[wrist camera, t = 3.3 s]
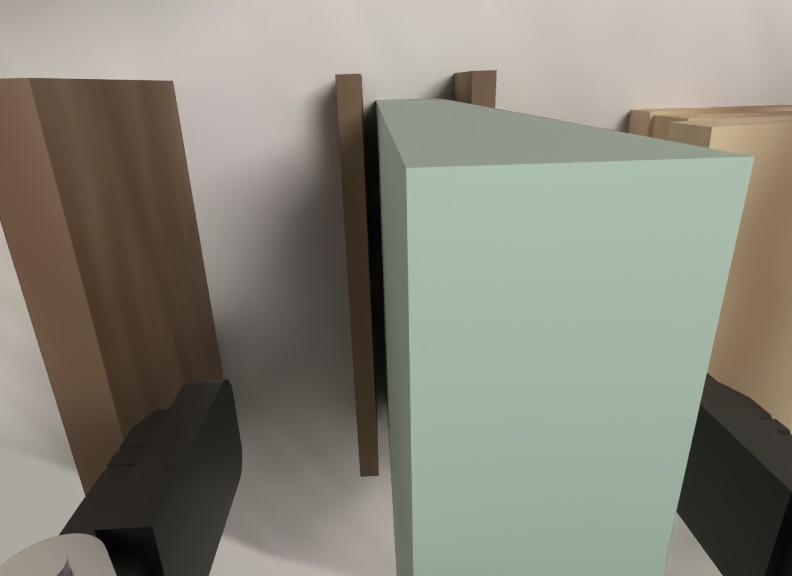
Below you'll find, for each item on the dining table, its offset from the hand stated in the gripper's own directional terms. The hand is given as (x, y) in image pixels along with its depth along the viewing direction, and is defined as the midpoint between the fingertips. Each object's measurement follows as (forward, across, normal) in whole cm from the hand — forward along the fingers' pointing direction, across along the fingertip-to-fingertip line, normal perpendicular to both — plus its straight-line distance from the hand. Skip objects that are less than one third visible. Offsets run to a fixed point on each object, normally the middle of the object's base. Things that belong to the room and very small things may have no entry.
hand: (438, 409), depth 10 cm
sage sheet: (+8, 0, 0) cm, 8 cm away
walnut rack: (+8, +3, 0) cm, 9 cm away
